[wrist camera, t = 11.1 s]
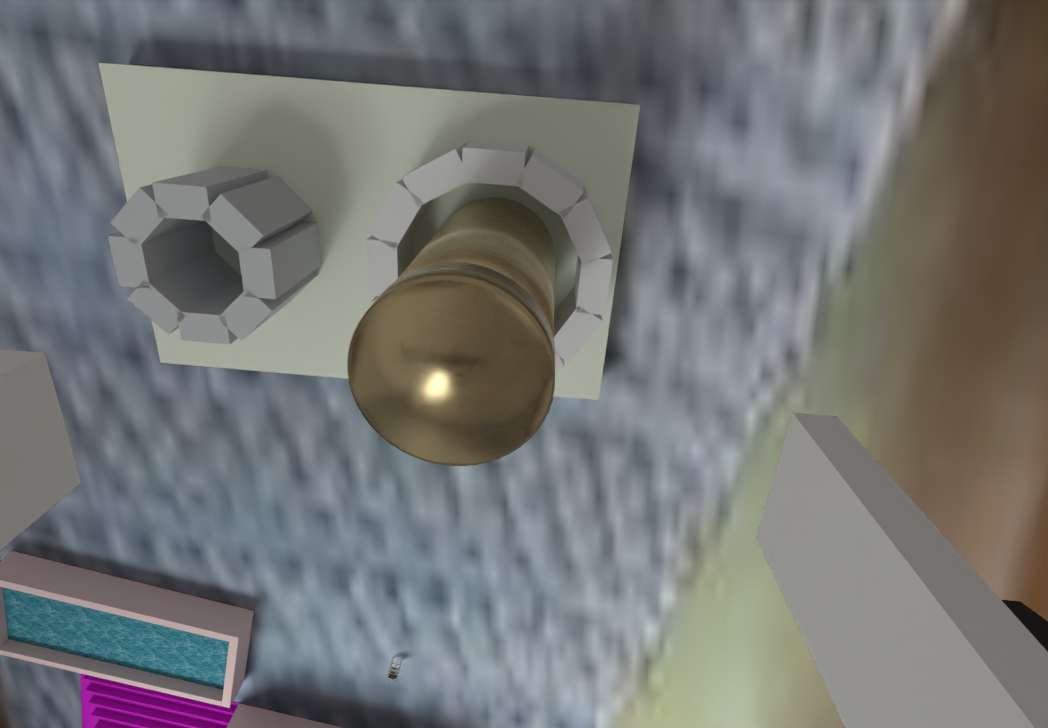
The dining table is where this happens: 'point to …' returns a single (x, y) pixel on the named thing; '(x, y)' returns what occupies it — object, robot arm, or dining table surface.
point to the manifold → (346, 206)
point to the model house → (134, 647)
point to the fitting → (463, 340)
